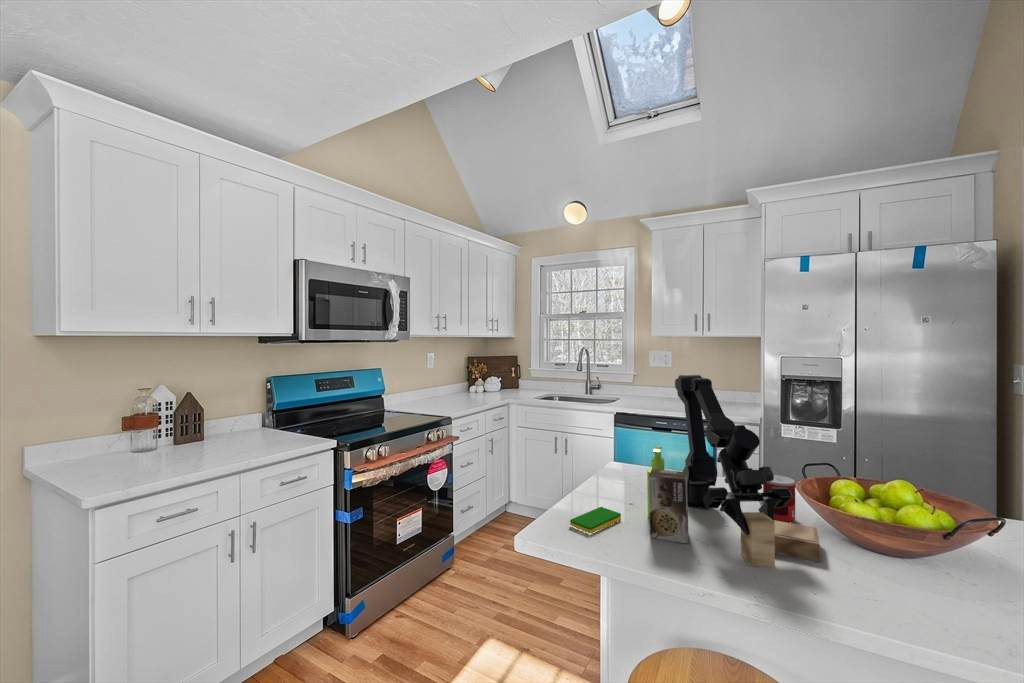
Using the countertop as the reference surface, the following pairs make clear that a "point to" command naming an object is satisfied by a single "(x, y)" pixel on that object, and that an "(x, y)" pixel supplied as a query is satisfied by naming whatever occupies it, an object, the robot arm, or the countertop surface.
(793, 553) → the light wood flat block
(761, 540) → the oak block
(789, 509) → the canned food
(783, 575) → the countertop surface
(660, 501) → the printed cardboard box
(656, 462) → the soap dispenser
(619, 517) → the dish sponge
